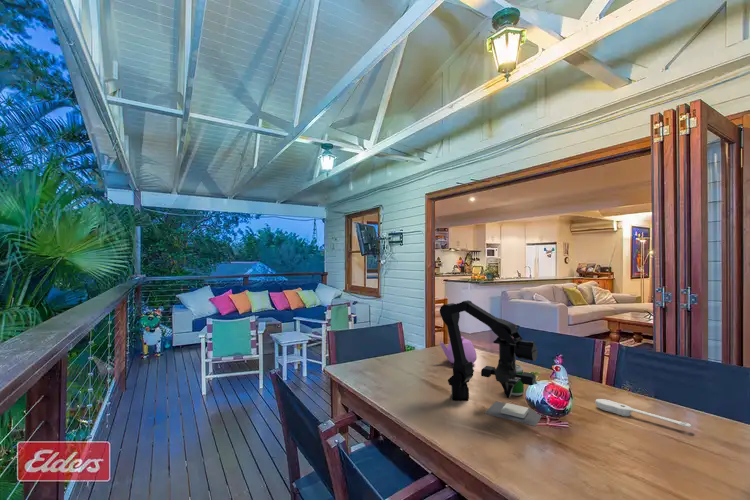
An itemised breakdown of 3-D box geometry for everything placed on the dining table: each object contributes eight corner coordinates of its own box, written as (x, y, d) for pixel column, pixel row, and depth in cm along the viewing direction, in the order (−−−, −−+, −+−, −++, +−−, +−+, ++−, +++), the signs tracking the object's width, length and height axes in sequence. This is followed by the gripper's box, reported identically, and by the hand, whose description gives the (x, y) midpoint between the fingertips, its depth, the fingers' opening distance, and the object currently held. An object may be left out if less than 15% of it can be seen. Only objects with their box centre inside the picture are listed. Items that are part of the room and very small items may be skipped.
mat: (484, 414, 132) (484, 413, 132) (495, 402, 143) (495, 401, 143) (535, 427, 121) (535, 426, 121) (544, 412, 132) (544, 411, 132)
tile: (501, 409, 131) (523, 414, 126) (506, 402, 137) (528, 407, 132) (501, 413, 131) (524, 419, 126) (506, 407, 137) (528, 412, 132)
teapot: (434, 359, 206) (434, 333, 206) (467, 357, 208) (467, 332, 208) (445, 369, 186) (444, 341, 187) (481, 367, 188) (480, 339, 189)
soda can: (525, 397, 147) (524, 368, 147) (506, 396, 148) (505, 368, 149) (521, 391, 154) (521, 363, 154) (503, 390, 156) (503, 362, 156)
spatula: (693, 431, 117) (693, 422, 117) (689, 437, 113) (689, 428, 114) (598, 404, 139) (598, 396, 139) (593, 408, 135) (593, 400, 135)
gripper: (475, 357, 133) (476, 399, 132) (528, 365, 121) (529, 411, 121) (485, 351, 141) (486, 390, 141) (535, 358, 130) (536, 400, 130)
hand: (508, 397), depth 133 cm, fingers closed
